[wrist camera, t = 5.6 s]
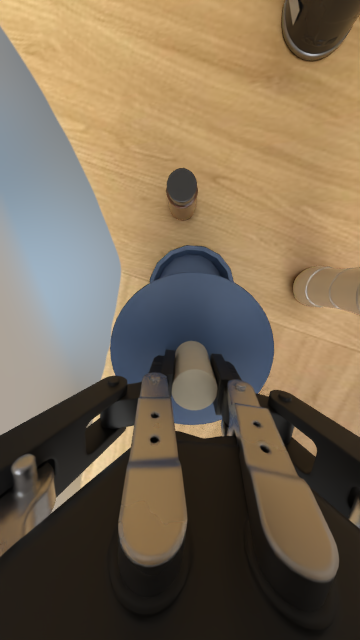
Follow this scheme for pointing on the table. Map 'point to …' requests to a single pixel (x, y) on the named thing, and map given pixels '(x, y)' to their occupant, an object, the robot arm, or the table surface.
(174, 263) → the blue round pot
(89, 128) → the table surface
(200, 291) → the lid
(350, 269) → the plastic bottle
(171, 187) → the spice bottle
